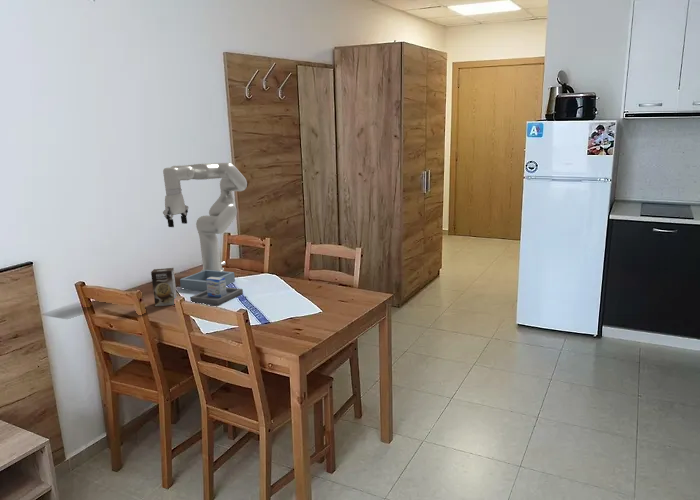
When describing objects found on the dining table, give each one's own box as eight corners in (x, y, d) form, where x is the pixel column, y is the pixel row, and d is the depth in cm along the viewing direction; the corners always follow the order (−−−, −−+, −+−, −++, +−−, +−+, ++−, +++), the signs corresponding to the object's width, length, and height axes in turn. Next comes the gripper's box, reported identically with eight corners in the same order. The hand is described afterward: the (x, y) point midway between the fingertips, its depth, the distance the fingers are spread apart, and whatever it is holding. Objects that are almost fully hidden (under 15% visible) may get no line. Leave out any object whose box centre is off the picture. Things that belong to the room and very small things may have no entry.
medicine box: (207, 296, 251) (205, 278, 249) (213, 293, 255) (211, 276, 253) (221, 297, 248) (219, 279, 246) (227, 295, 252) (225, 277, 250)
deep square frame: (206, 278, 286) (205, 269, 285) (235, 281, 277) (234, 272, 276) (181, 288, 269) (179, 279, 268) (210, 292, 261) (209, 282, 260)
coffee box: (154, 306, 243) (150, 272, 239) (157, 302, 249) (153, 268, 246) (175, 304, 244) (171, 270, 241) (177, 300, 251) (173, 267, 247)
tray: (216, 291, 262) (215, 286, 262) (242, 293, 255) (242, 288, 255) (190, 302, 247) (190, 297, 246) (218, 305, 240) (217, 300, 239)
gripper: (179, 189, 281) (183, 221, 285) (155, 194, 266) (160, 228, 270) (191, 189, 278) (195, 222, 282) (167, 194, 263) (171, 228, 267)
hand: (178, 225), depth 276 cm, fingers open, 9 cm apart
